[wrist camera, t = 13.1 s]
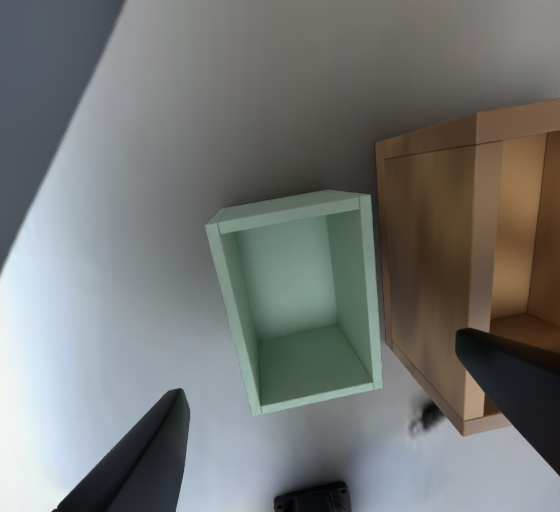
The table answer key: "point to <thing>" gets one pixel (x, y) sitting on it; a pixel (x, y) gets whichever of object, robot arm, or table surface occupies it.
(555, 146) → the crate
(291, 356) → the bin
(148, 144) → the table surface
